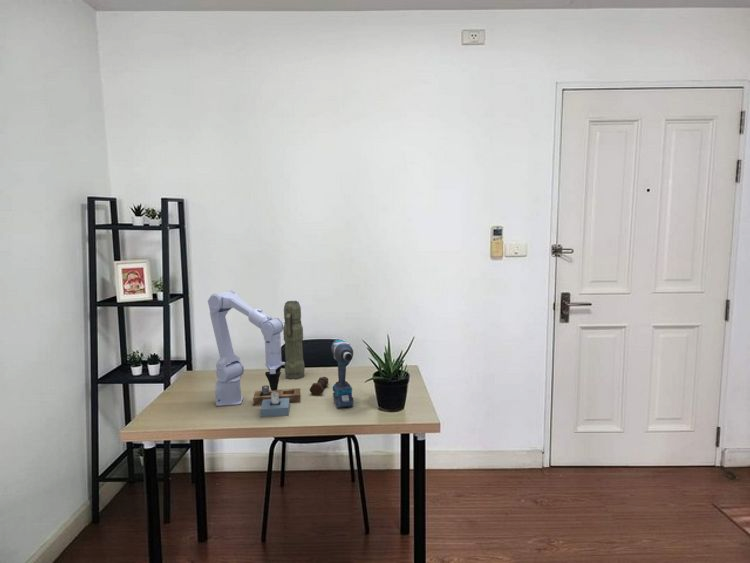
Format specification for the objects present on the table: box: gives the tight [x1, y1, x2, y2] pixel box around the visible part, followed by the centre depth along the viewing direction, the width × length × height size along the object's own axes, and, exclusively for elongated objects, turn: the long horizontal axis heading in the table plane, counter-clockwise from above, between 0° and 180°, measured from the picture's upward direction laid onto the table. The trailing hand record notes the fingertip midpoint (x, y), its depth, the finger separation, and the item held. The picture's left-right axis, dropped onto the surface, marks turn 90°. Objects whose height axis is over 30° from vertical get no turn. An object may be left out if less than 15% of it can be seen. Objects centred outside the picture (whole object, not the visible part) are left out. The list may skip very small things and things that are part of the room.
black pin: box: [261, 384, 270, 396], centre depth 195 cm, size 3×3×6 cm
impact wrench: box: [331, 338, 354, 409], centre depth 188 cm, size 8×22×25 cm, turn 15°
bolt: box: [309, 376, 329, 397], centre depth 208 cm, size 6×5×15 cm
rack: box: [252, 388, 301, 406], centre depth 196 cm, size 18×8×3 cm, turn 98°
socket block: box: [259, 398, 291, 418], centre depth 185 cm, size 10×10×3 cm
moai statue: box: [282, 300, 306, 380], centre depth 224 cm, size 9×12×35 cm
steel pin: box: [271, 392, 279, 406], centre depth 184 cm, size 3×3×7 cm
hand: (274, 386), depth 184 cm, fingers open, 7 cm apart
